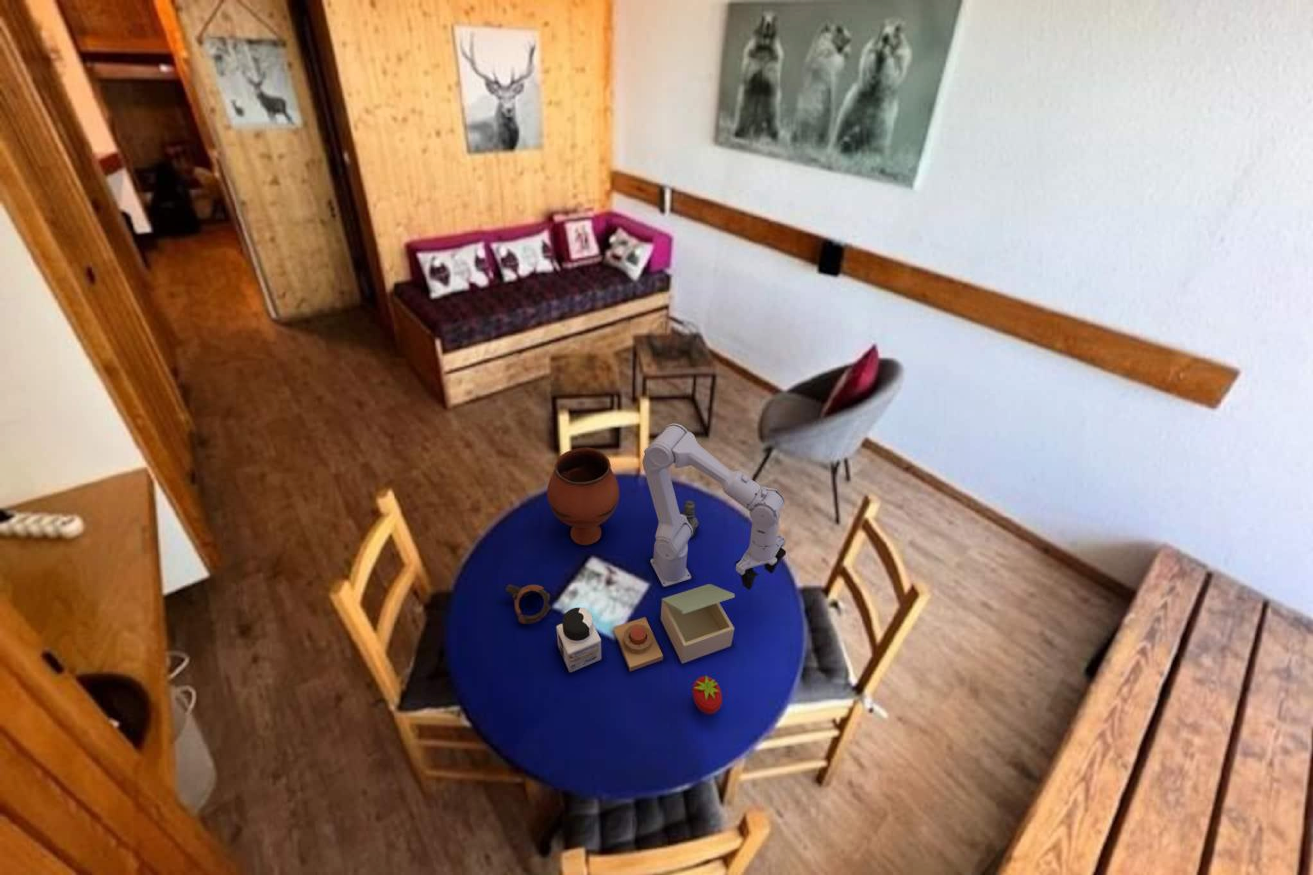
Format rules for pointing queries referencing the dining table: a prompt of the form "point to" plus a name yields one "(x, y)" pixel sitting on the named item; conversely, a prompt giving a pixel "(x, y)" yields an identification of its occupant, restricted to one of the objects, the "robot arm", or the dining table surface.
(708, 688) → the strawberry
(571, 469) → the goblet
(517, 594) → the rusty metal ring
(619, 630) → the control block
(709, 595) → the lid
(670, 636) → the wooden box
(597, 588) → the dining table surface
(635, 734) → the dining table surface
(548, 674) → the dining table surface
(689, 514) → the salt shaker
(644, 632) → the button
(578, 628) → the container
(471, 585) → the dining table surface
